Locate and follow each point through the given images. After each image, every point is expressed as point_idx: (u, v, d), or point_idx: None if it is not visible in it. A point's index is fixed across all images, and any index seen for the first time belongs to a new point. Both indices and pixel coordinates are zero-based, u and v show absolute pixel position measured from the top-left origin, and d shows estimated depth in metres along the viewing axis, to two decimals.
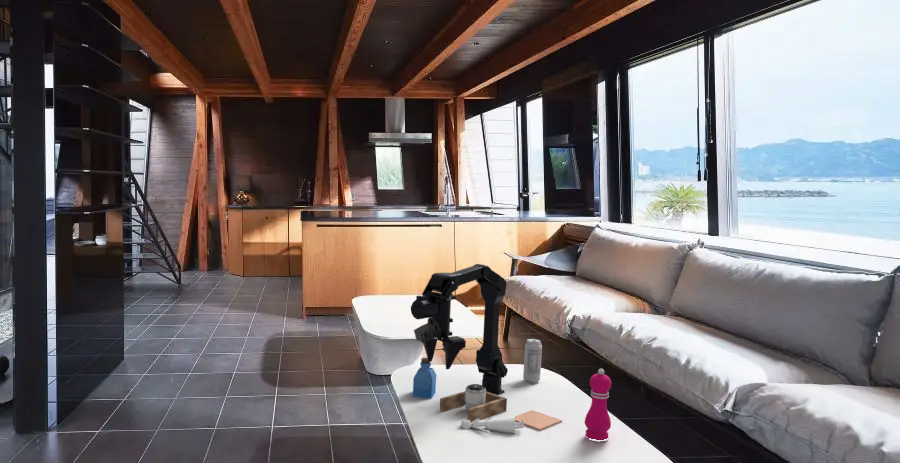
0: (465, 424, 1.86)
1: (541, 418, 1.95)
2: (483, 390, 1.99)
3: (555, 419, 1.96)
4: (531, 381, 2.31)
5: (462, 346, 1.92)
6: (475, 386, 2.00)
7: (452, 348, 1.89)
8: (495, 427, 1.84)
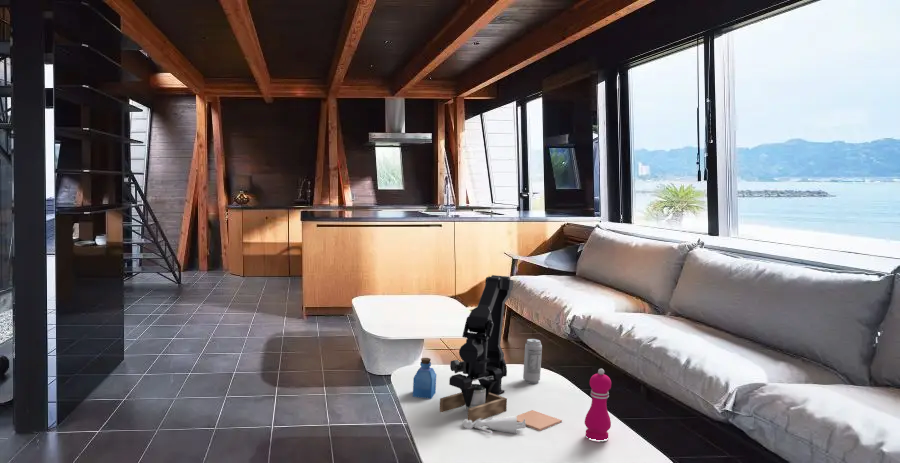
0: (467, 424, 1.86)
1: (541, 418, 1.95)
2: (483, 390, 1.99)
3: (555, 419, 1.96)
4: (531, 381, 2.31)
5: (459, 386, 1.93)
6: (475, 386, 2.00)
7: (450, 383, 1.95)
8: (497, 427, 1.85)
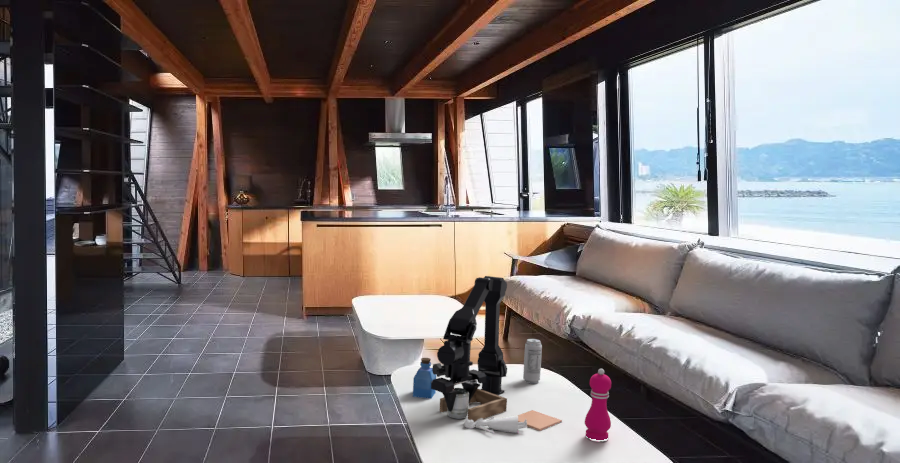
0: (469, 424, 1.86)
1: (541, 418, 1.95)
2: (466, 394, 1.93)
3: (555, 419, 1.96)
4: (531, 381, 2.31)
5: (440, 390, 1.87)
6: (458, 390, 1.94)
7: (431, 387, 1.89)
8: (498, 427, 1.85)
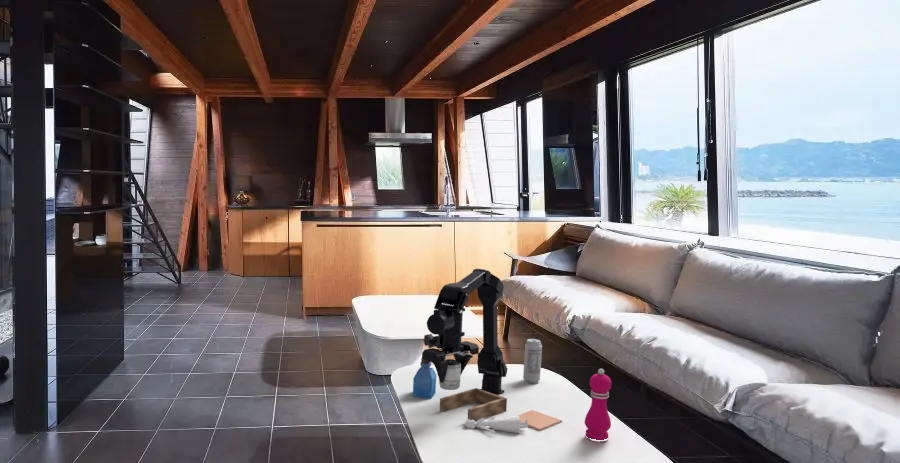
0: (470, 424, 1.86)
1: (541, 418, 1.95)
2: (458, 365, 1.89)
3: (555, 419, 1.96)
4: (531, 381, 2.31)
5: (431, 360, 1.83)
6: (450, 361, 1.91)
7: (422, 358, 1.86)
8: (500, 427, 1.85)
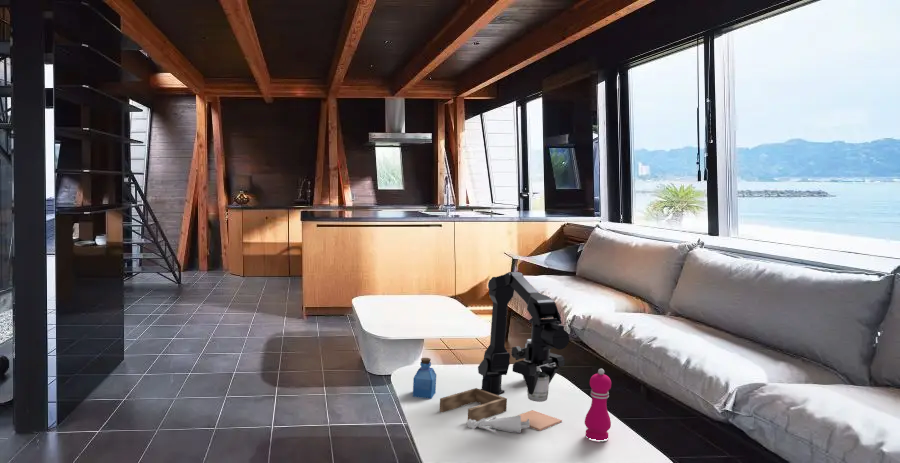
0: (471, 424, 1.87)
1: (541, 418, 1.95)
2: (547, 377, 1.92)
3: (555, 419, 1.96)
4: None
5: (523, 373, 1.86)
6: (538, 373, 1.93)
7: (513, 370, 1.88)
8: (501, 426, 1.85)
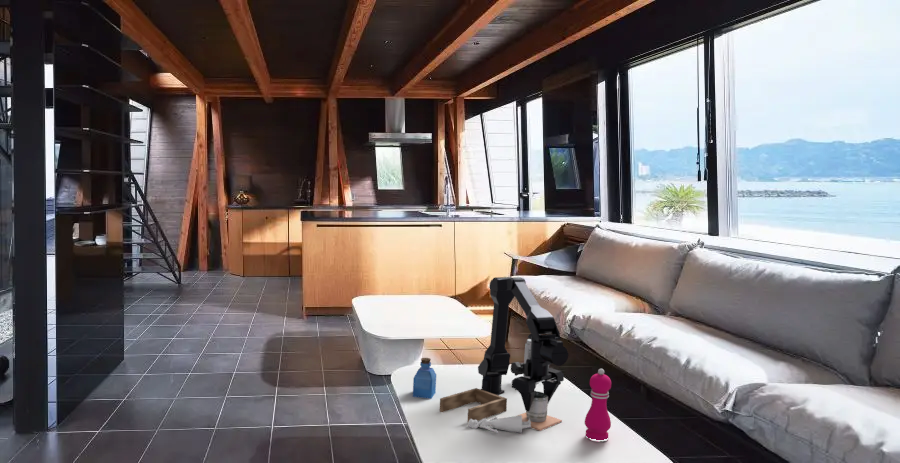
0: (472, 424, 1.87)
1: None
2: (545, 398, 1.92)
3: (555, 419, 1.96)
4: None
5: (523, 389, 1.86)
6: (537, 394, 1.94)
7: (512, 386, 1.89)
8: (502, 426, 1.85)
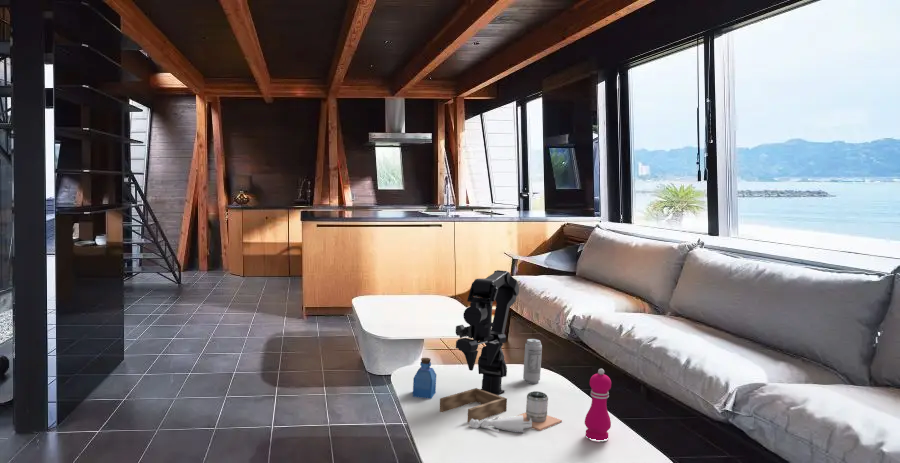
0: (474, 424, 1.87)
1: None
2: (546, 398, 1.92)
3: (555, 419, 1.96)
4: (531, 381, 2.31)
5: (465, 349, 1.98)
6: (537, 394, 1.94)
7: (456, 347, 2.00)
8: (504, 426, 1.85)
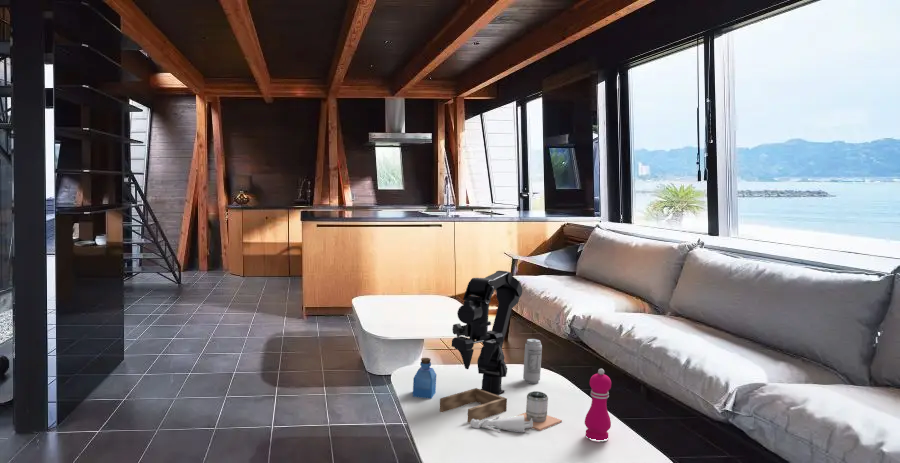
0: (475, 424, 1.87)
1: None
2: (546, 398, 1.92)
3: (555, 419, 1.96)
4: (531, 381, 2.31)
5: (461, 347, 1.99)
6: (537, 394, 1.94)
7: (452, 345, 2.01)
8: (505, 426, 1.85)
